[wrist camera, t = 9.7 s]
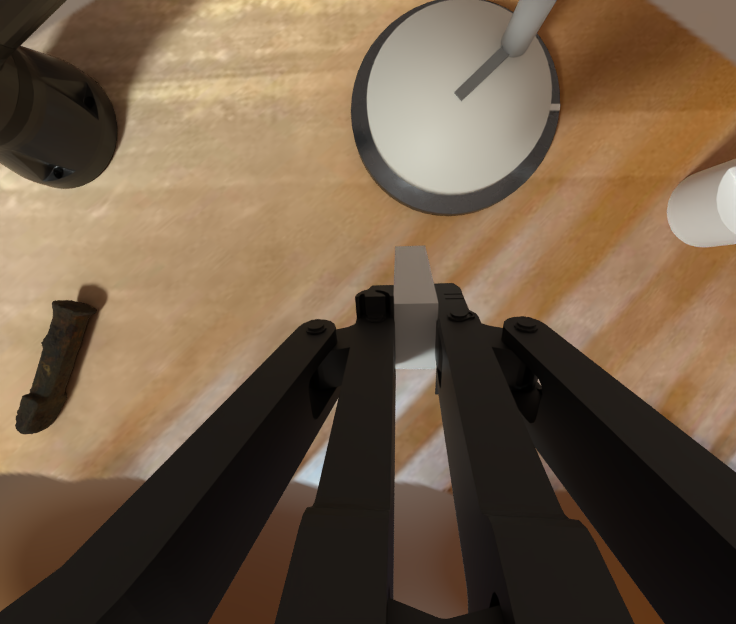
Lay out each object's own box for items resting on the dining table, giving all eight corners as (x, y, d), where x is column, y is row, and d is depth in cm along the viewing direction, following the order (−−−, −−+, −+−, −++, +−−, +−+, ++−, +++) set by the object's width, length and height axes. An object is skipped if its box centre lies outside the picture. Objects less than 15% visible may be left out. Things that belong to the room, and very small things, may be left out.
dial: (445, 231, 40) (468, 211, 29) (332, 104, 39) (311, 35, 28) (580, 109, 38) (659, 37, 27) (462, -26, 37) (494, -156, 26)
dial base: (317, 156, 41) (314, 150, 40) (415, -31, 39) (416, -46, 37) (484, 251, 41) (489, 250, 39) (593, 70, 39) (603, 60, 37)
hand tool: (76, 296, 45) (41, 298, 41) (103, 309, 45) (70, 312, 40) (34, 417, 47) (-5, 432, 43) (59, 429, 47) (22, 445, 42)
